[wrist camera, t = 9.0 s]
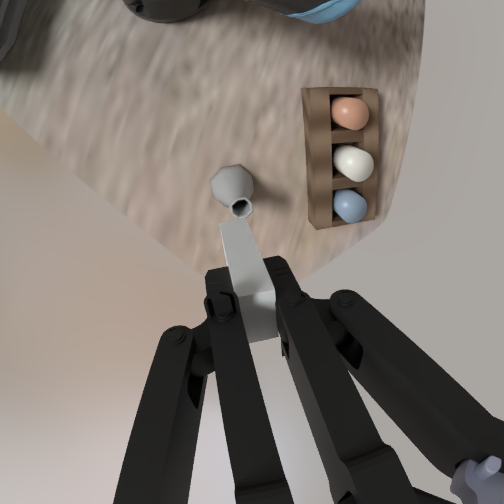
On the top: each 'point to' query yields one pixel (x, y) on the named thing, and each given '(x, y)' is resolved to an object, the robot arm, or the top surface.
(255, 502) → the robot arm
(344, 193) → the blue rounded lump
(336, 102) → the peach orange ball
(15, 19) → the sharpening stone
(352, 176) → the off-white round ball
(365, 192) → the wooden egg tray
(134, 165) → the top surface
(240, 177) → the flask
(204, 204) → the top surface
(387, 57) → the top surface
